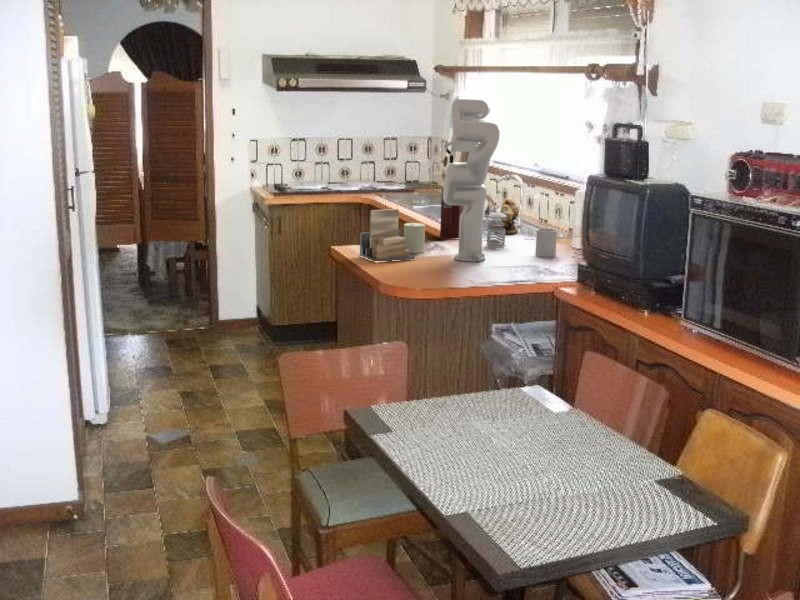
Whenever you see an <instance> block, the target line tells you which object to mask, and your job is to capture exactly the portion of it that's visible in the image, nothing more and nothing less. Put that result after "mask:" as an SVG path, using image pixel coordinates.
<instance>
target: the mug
mask: <svg viewBox="0 0 800 600" xmlns="http://www.w3.org/2000/svg"><path fill="white" fill-rule="evenodd" d="M557 236H558V230H556V229H553V228H538V229H536V236H535V237H536V238H535V239H536V240H535V253H534V255H535V257H539V258H545V257H550V258H555V257H556V253H557V241H558V240H557Z"/></svg>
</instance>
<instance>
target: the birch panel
mask: <svg viewBox="0 0 800 600" xmlns="http://www.w3.org/2000/svg"><path fill="white" fill-rule="evenodd" d="M399 214H400V209H398V208H391V209H390V208H389V209H374V210H373V209H371V210H370V212H369V216H370V218H369V219H370V220H369V232H370V248H373V244H378V241H379V238H385V237H394V236H398V230H399V220H400V219H399V217H400V215H399Z"/></svg>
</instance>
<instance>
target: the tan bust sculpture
mask: <svg viewBox="0 0 800 600" xmlns="http://www.w3.org/2000/svg"><path fill="white" fill-rule="evenodd" d="M501 205H502V206H501V207H500V211H499V213H503V214H505V215H506V218H500V221H501V224H504V225H505V226H504V227H502V228H505V236H514V235H517V234H518V232H519V231H518V229H517V227H516V225H515V220H516V219H517V218H518V215H519V206H518V205H517V202H516V200H515V199H514V198H512V197H506V198H505V200H504V201H503V202H502V204H501ZM493 230H495V229H493ZM493 233H495V232H493ZM495 234H497V233H495Z"/></svg>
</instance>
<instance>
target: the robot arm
mask: <svg viewBox="0 0 800 600" xmlns="http://www.w3.org/2000/svg"><path fill="white" fill-rule="evenodd" d="M491 102H492V101H491V98H490V96H489V95H487V94H486V95H485V94H459V95H457V96H456V98H455V99H454V100H453V101H452V103H451V104H452V105H451V113H450V114H451V125H452V139H451V141H449V142H447V143H446V144H443V148H444V150H445V152H446V153H447V154H448V155H449V164H448V166H447V169H446V172H445V178H444V183H443V188H444V189H443V200H444V202H445V204H447V205H453V206H463V207H464V208H463V212H462V213H461V215H460V223H459V239H458V252H457V253H458V254H455V255H454V260H456V261H459V260H460V262H468V263H469V262H470V263H472V262H473V263H477V261H479V262H483V261H485V260H486V256H485V254H484V253H483V232H484V230H483V227H484V223H483V221H484V210H485V204H486V199H487V193H488V191H487V187H486V186H485V182H486V180H487V175H488V171H489V166H490V161H491V158H492V157H493V155H494V153H495V152H496V149H497V147H498V145H499V141H500V134H501V133H500V126H499V124H497V122H495V121H492V120H487V119H486V120H485V118H487V116H488V115H489V114H490V112H491V109H492V103H491ZM450 146H451V150H449V147H450ZM455 152H457V153H458V152H461V153H462V152H465V153H467V152H468V153H469V154H468V156H467V161H454V154H455Z"/></svg>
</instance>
